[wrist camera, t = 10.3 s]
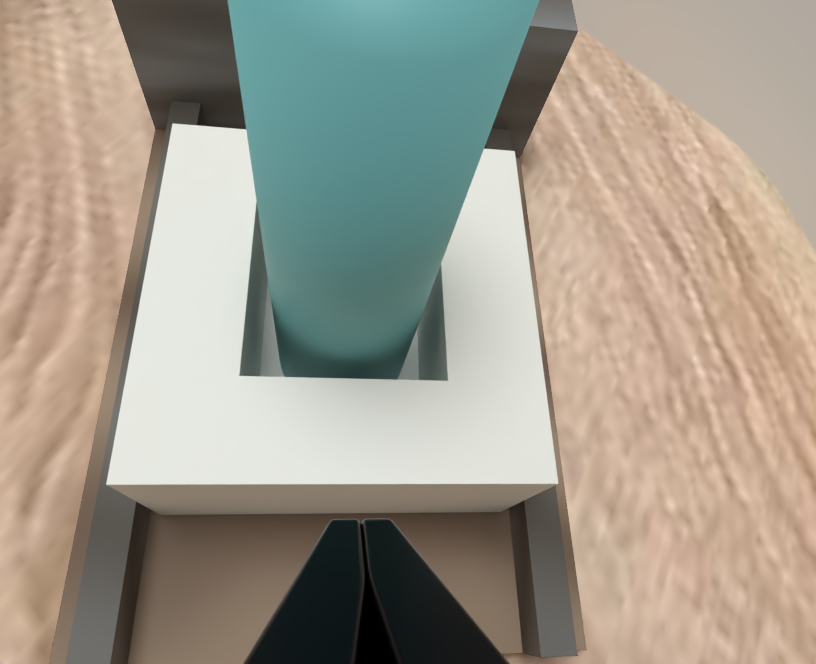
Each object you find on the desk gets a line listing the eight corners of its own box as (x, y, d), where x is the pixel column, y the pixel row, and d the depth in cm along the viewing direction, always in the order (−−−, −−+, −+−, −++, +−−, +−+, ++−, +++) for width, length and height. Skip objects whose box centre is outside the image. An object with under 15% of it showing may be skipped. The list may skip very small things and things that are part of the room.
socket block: (500, 511, 18) (558, 484, 14) (160, 515, 17) (106, 484, 12) (476, 238, 22) (514, 151, 18) (202, 222, 21) (172, 123, 16)
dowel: (420, 391, 19) (595, 39, 7) (296, 426, 18) (260, 80, 6) (382, 284, 20) (476, -156, 8) (266, 310, 19) (189, -150, 7)
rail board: (577, 648, 17) (714, 672, 11) (56, 671, 15) (-108, 715, 9) (510, 131, 26) (569, -11, 20) (166, 101, 24) (116, -66, 18)
